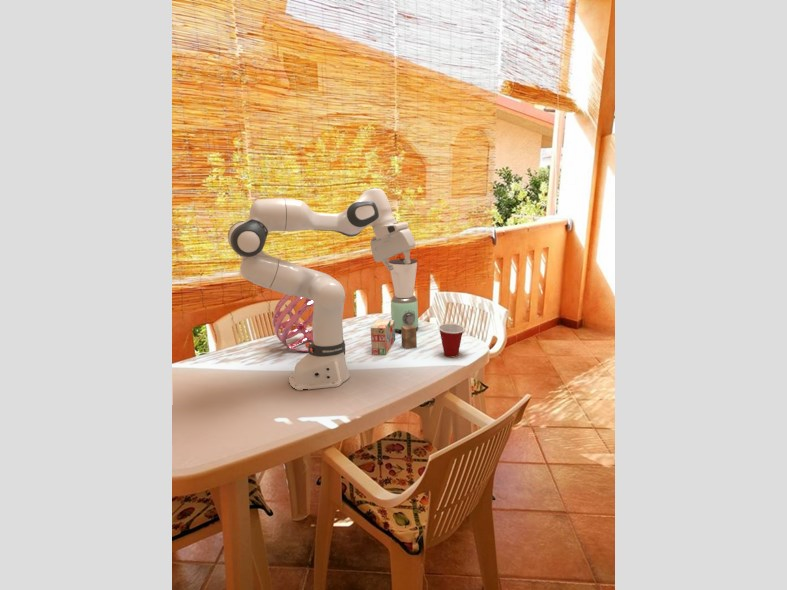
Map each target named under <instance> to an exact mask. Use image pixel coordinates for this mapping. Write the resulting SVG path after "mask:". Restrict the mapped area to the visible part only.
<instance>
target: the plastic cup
mask: <svg viewBox="0 0 787 590" xmlns="http://www.w3.org/2000/svg"><path fill="white" fill-rule="evenodd" d="M437 328H438V330H439V335H440V339H441V345H442V350H443V353H444V354H445V355H446V357H448V356H455V357H457V356H458V355H459V352H460V347H461V343H462V342H461V341H462V336H463V333H464V332H465V329H466V328H465V327H464V326H463V325H461V324H457V323H443V324H440V325H438V327H437ZM444 354H443V355H444ZM445 355H444V356H445ZM456 355H457V356H456Z"/></svg>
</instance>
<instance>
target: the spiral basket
mask: <svg viewBox="0 0 787 590" xmlns="http://www.w3.org/2000/svg"><path fill="white" fill-rule="evenodd" d="M292 297H293V296H289V295H286V294H284V295H283V296H282V297H281V298H280V299H279V300H278V302H277V303H276V306H275V308H274V313H273V314H272V315H273V317H272V326H273V328H274V333H275V336H276V337H277V338H278V339H279V341H280V343H282V344H283V345H284V346H285V347H286V348H288V349H290V350H291V351H294V352H298V351H305V352H304V353H309V352H308V349H299V348H296V347H293V346H295V345H297V344H299V343H302V342H304V343H307V342H308V341H311V342H312V343H313V331H312V329H311V330H309V329H307V327H308V326H309V325H310V324H312V320H313V310H312V311H311V313H310V314H309V315H308V316H307V318H306V319H305V320H303V322H300V321H299V319H300V318H301V317H302V316H303V315H304V313H305V312H306V311H308V310H309V309H311V308H312V307H313V301H312V300H309V299H306V298H305V301H304V302H303V304H302V306H300V308H299V309H298V310H296V311H295V312H294V313H293V312H292V311H293V309H295V307H296V306H297V305H298V303H300V302H301V301H302V300H303V299H304V298H301V297H296V296H294V298H293V300H292V301H290V302H289V303H288V305H287V304H286V303H287V302H288V301H289V300H290V299H291V298H292ZM283 306H285V308H284V309H283V310H281V309H282V307H283ZM287 315H288V316H289V318H288V319H287V320H285V321H283V320H284V319H285V318H286V316H287ZM294 325H295V329H294V330H291V329H292V328H293V326H294ZM280 330H282V333H280ZM298 334H303V336H302V337H300V338H299V339H298V340H296V341H294V342H291V343H287V340H288V339H292V338H294V337H295V336H297V335H298ZM292 347H293V348H292Z"/></svg>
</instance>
